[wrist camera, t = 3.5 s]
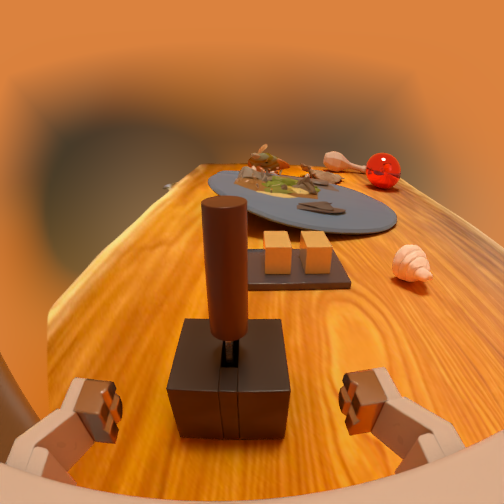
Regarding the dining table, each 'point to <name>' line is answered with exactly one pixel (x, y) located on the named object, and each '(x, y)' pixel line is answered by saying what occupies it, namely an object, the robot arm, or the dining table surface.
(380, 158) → the ball
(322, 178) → the coral
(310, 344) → the dining table surface
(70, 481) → the robot arm
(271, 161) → the decorative fish sculpture
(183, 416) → the brown slotted box
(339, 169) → the faceted beige polyhedron
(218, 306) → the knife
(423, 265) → the peach ridged curved piece
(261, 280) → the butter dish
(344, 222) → the serving platter
